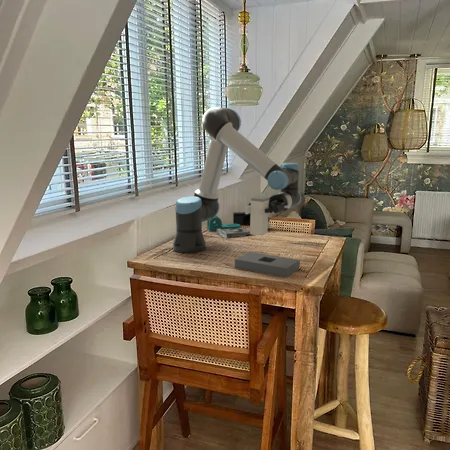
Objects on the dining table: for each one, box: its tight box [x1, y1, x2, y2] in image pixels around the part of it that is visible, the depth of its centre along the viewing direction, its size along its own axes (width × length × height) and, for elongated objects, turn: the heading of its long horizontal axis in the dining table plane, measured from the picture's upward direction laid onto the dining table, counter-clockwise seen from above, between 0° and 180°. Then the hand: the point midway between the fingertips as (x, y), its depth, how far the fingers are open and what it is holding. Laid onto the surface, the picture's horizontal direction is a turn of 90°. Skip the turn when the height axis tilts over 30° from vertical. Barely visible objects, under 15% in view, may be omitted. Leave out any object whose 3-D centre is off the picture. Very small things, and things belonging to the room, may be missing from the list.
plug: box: [249, 195, 270, 237], centre depth 166 cm, size 5×5×14 cm
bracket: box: [206, 215, 241, 232], centre depth 238 cm, size 18×7×8 cm, turn 104°
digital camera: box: [232, 211, 251, 226], centre depth 248 cm, size 10×5×7 cm, turn 93°
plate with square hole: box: [234, 251, 301, 279], centre depth 168 cm, size 22×12×4 cm, turn 58°
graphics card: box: [215, 227, 251, 240], centre depth 224 cm, size 17×4×12 cm
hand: (252, 211), depth 161 cm, fingers closed on plug, 5 cm apart
